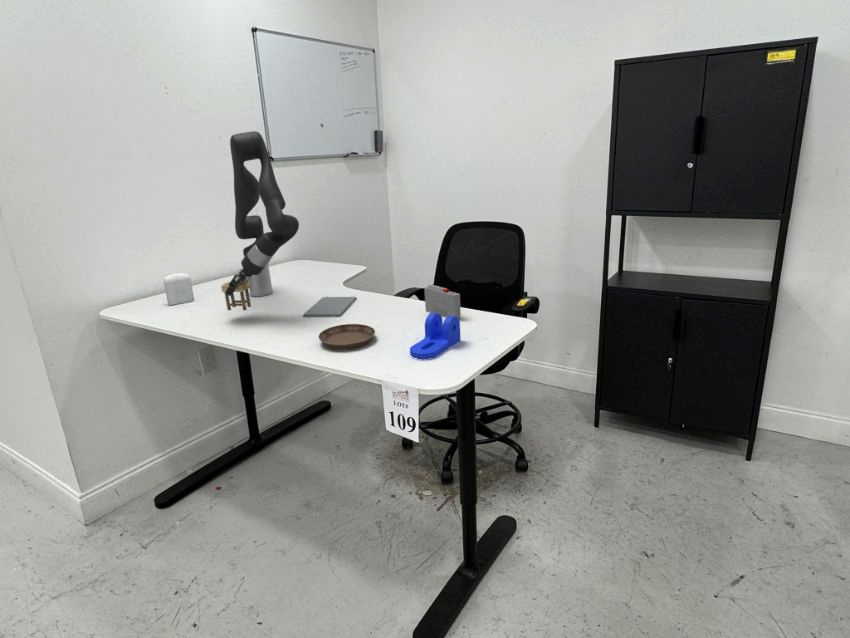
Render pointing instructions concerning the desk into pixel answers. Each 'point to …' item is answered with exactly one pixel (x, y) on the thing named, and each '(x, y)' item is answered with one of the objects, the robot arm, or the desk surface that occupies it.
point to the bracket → (437, 336)
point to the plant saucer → (347, 336)
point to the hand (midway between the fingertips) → (231, 291)
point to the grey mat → (330, 307)
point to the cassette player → (442, 301)
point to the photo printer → (178, 288)
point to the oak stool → (240, 289)
